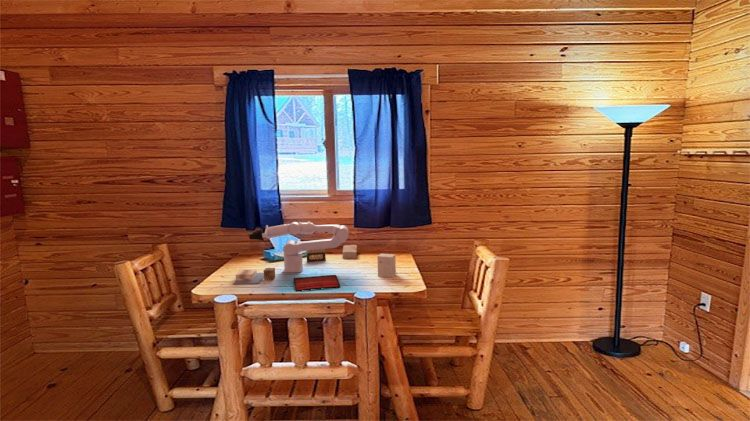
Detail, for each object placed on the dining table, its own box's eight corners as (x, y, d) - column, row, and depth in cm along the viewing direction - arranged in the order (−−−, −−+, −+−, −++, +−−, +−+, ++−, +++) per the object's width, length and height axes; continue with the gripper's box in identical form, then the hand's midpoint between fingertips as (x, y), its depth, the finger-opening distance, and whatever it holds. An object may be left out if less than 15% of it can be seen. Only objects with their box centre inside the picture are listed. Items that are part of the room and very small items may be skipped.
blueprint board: (266, 273, 215) (266, 267, 215) (258, 284, 200) (258, 276, 199) (243, 274, 215) (242, 267, 215) (233, 284, 199) (233, 277, 199)
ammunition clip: (325, 259, 241) (324, 239, 239) (325, 260, 239) (325, 240, 237) (306, 261, 238) (305, 240, 236) (307, 262, 236) (306, 241, 235)
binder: (293, 277, 203) (336, 274, 208) (293, 281, 204) (336, 278, 208) (294, 289, 188) (341, 285, 193) (295, 294, 188) (341, 290, 193)
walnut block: (275, 277, 210) (274, 267, 209) (273, 280, 206) (272, 270, 205) (266, 277, 210) (265, 267, 209) (264, 280, 205) (263, 270, 205)
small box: (395, 274, 212) (395, 254, 211) (392, 277, 207) (392, 257, 205) (381, 273, 215) (380, 253, 213) (377, 276, 210) (377, 255, 208)
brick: (356, 259, 243) (356, 251, 242) (342, 259, 243) (342, 251, 242) (357, 252, 259) (356, 244, 259) (343, 252, 259) (343, 244, 258)
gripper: (278, 221, 224) (253, 226, 223) (273, 225, 209) (246, 230, 209) (280, 234, 225) (255, 239, 224) (275, 239, 210) (249, 244, 210)
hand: (251, 235), depth 217 cm, fingers open, 7 cm apart
